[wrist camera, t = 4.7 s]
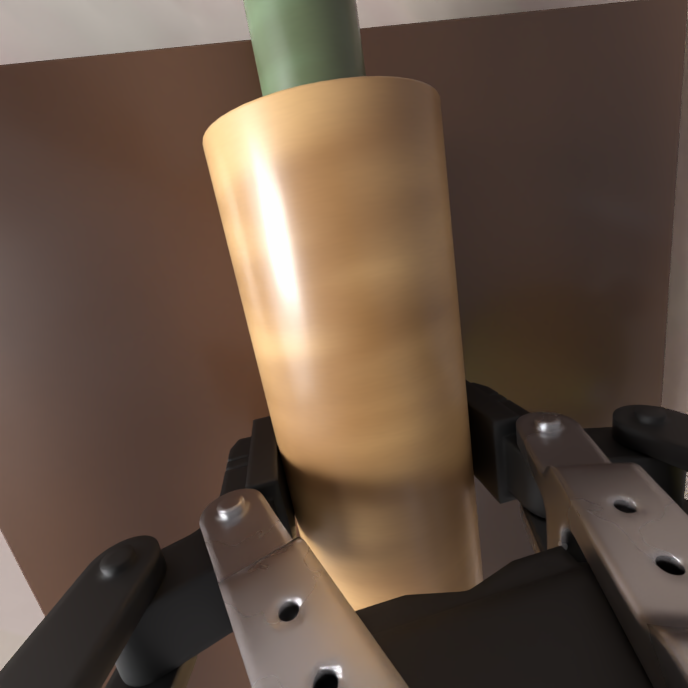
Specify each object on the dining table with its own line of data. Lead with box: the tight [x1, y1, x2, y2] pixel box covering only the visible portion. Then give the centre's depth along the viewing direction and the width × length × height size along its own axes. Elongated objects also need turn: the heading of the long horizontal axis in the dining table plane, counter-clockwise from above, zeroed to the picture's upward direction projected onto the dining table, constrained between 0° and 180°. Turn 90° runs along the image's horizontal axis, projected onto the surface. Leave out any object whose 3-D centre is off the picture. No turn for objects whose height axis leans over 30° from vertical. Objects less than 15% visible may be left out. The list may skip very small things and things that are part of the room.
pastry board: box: [0, 0, 688, 688], centre depth 13 cm, size 24×22×1 cm
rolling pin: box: [203, 0, 483, 611], centre depth 10 cm, size 5×28×5 cm, turn 10°
